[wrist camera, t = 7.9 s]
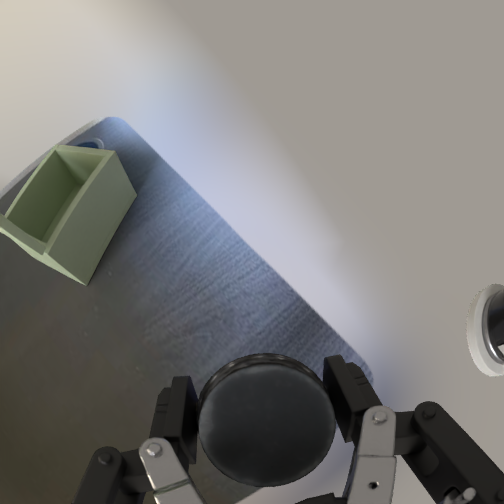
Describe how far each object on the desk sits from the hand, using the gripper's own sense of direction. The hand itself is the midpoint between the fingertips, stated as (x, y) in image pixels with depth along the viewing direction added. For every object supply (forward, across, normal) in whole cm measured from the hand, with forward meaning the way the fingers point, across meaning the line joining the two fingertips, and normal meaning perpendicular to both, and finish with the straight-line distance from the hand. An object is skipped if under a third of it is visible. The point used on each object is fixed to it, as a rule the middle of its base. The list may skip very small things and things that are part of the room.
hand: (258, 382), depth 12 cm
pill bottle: (+4, 0, +6) cm, 8 cm away
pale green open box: (+23, +20, -5) cm, 31 cm away
